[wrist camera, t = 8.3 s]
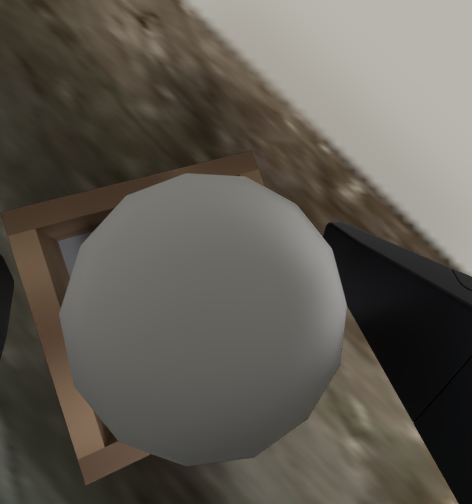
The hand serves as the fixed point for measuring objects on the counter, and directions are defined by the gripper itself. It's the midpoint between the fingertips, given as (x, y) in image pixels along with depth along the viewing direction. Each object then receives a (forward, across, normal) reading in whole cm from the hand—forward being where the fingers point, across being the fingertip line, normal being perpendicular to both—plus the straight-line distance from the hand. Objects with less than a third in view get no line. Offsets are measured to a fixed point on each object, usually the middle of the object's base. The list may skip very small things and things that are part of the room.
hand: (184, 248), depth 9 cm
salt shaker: (+5, 0, +7) cm, 8 cm away
